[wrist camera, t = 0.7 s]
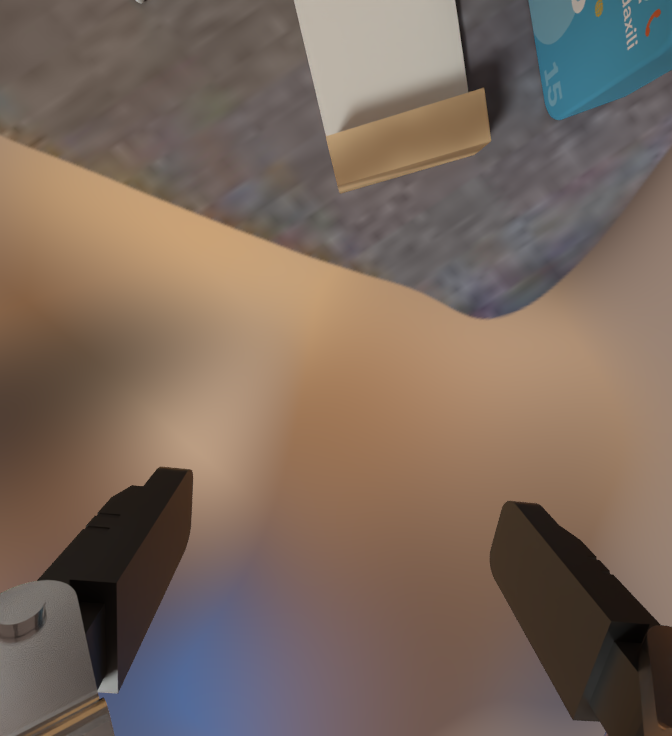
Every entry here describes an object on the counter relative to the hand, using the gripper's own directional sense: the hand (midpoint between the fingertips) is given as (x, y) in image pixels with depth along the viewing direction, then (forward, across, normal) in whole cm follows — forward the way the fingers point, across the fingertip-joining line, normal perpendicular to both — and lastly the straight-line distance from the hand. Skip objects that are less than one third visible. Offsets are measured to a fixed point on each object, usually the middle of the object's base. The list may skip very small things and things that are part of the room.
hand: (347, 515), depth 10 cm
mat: (+22, 0, -22) cm, 32 cm away
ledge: (+22, -4, -15) cm, 27 cm away
